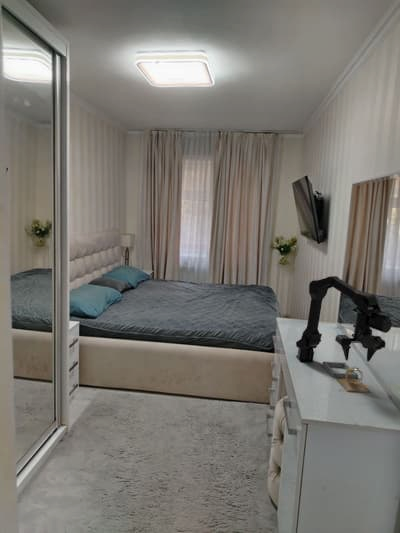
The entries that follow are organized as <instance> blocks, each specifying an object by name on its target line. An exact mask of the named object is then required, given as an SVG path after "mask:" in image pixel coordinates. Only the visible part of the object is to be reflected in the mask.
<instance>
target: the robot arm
mask: <svg viewBox="0 0 400 533" xmlns="http://www.w3.org/2000/svg"><path fill="white" fill-rule="evenodd" d="M332 288H334V289H335V290H337V291H338V292H340V293H342V294H343V295H344V296H346V297H348V299H349V298H350V300H351V301H352V303H353V304H354V305H355V306H356V307H354V308H353V309H352V312H355V313H356V317H355V318H356V319H355V323H353V328H354V329H353V333H351V337H350V336H347V335H346V334H336V336H335V339H334V341H335V342H337V344H339V345H340V346H341V349H342V351H343V355H344V360H345V361H348V360H349V356H350V355H349V354H350V349H351V348H352V346H351V345H352V344H361V346H362V348H364V349H366V350H367V352H366V362H368V363H369V362H370V361H371V359H372V358H373V356H374V355H375V354H376V352H377V351H379V350H382V349H383V348H384V349H385V348H386V345H387V344H386V341H385V340H384V339H383V338H382V337H381V336H380V335H373V330H377V331H379V332H381V333H386V334H387V333H389V331H390V330H391V329H392V326H393V323H392V320H391V318H390V317H391V315H389V314H385V313H382V310H381V307H380V305H379V303H378V299H377V296H376V295H374V294H373V293H370V292H367V291H363V290H359V289H357V287H354V286H353V285H351V284H349V283H348V282H347V281H344V280H342V279H341V278H340V277H339V276H337V275H333V276H332V275H330V276H326V277H324V278H322V279H314V280H311V281H310V282H309V285H308V294H309V296H310V304H309V311H308V317H307V322H306V323H307V324H306V328H305V329H304V331H303V332H302V333H301V334H302V335H301V337H300V339H299V340H297V341H296V342H295V344H296V345H295V346H296V348H297V355H295V357H296V358H297V359H298V361H299V362H300V363H314V355H315V351H314V349H316V348H317V347H318V345H320V343H321V342H322V334H323V333H320V331H319V322H320V319H321V318H320V316H321V311H322V304H323V300H324V299H325V297H326V296H327V294H328V291H329V289H332ZM372 329H373V330H372Z"/></svg>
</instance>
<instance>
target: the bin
mask: <svg viewBox="0 0 400 533" xmlns="http://www.w3.org/2000/svg"><path fill="white" fill-rule="evenodd" d="M322 366H323V368H324V369H325V370H326V372H328V373H329V374H330V376H331V377H332V378H334V379H346V377H345V374H346V372H345V373H343V372H342V373H341V372H335V371H334V370H333V369H332V368H331V367H334V368H343V369H345V370H346V371H347V370H348V369H349V368H351V366H349V365H348V364H347V363H346V362H343V361H342V362H340V361H322ZM351 370H353V369H351ZM358 374H359V373H357V371H353V372H350V373H349V374H348V375H347V378H348V379H356V380H358V377H359V375H358Z"/></svg>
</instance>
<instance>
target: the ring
mask: <svg viewBox="0 0 400 533" xmlns="http://www.w3.org/2000/svg"><path fill="white" fill-rule="evenodd" d="M351 369H352V370H351ZM353 371H354V372H358V373H359V374H360V375H361V376H360V379H359V380H360V381H359V382H355V383H354V382H351V381H349V380H348V378H347V375H348V374H350V372H353ZM345 373H346V374H345V377H346V380H347V381H348V382H349V383H350V384H352V385H357V384H360V383H361V382H362V383H363V381H364V373H363V371H362V370H361V369H360V367H357V366H356V365H353V366H350V368H349V369H348V370H346V372H345Z"/></svg>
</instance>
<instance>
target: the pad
mask: <svg viewBox="0 0 400 533" xmlns="http://www.w3.org/2000/svg"><path fill="white" fill-rule="evenodd" d="M335 380H336V381H337V382H338V384H340V386H341V387H342V388H343V389H344V390H345V391H346V392H348V393H349V392H350V393H351V392H352V393H367V394H368V393H369V394H370V393H372V391H371V390H370V389H369V388H368V387H367V386H366V385H365V384H364V383H363V381H362V382H361V383H360V384H357V385H352V384H350V383H349V382H348V381H347V380H346V379H345V378H335ZM348 380H349V381H351V382H354V383H355V382H359V381H360V379H348Z"/></svg>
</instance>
